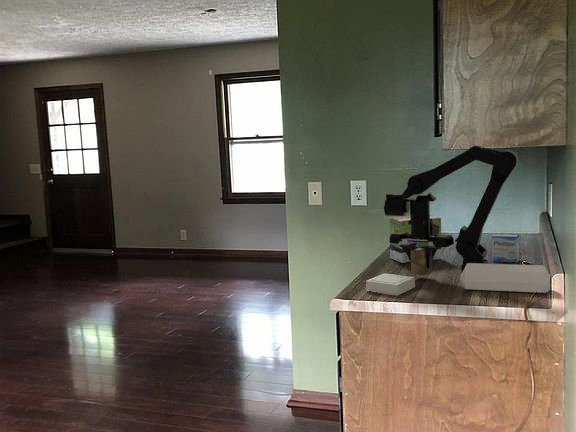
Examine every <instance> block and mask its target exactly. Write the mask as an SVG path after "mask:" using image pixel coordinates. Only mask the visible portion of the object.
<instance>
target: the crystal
mask: <svg viewBox="0 0 576 432" xmlns="http://www.w3.org/2000/svg"><path fill="white" fill-rule="evenodd" d="M550 276H551V274H550V272H549V271H548V269H547V268H546V267H545V266H544V265H540V264H537V265H536V264H534V265H533V264H513V263H512V264H509V263H506V264H505V263H504V264H503V263H488V264H478V263H467V265H466V266H465V268H464V270H463V272H462V274H460V276H459V281H460V283H461V285H462V287H463V289H464V290H470V291H471V290H473V291H495V292H512V293H513V292H514V293H515V292H517V293H534V294H535V293H536V292H537V294H547V293H548V292H550V290H551V289H550ZM549 289H550V290H549ZM546 292H547V293H546Z"/></svg>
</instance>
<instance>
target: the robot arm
mask: <svg viewBox="0 0 576 432" xmlns="http://www.w3.org/2000/svg"><path fill="white" fill-rule="evenodd" d="M475 161H478V162H481V163H484V164H488V165H491V166H492V168H491V169H492V170H491V174H490V179H489V182H488V185H487V186H486V189H485V191H484V193H483V195H482V197H481V200H480V202H479V203H478V206H477V208H476V210H475V212H474V215H473V217H472V219H471V221H470V223H469V225H468V226H466V225H463V226H462V227H461V228H460V229H459V232H458V237H457V238H456V239H454V236H452V234H443V233H441V234H440V235H439V228H440V226H438V225H435V224H433V222H432V218H430V215H431V212H430V203H431V202H436V201H437V197H436V196H435V195H433V193H431V192H429V193H427V194H426V195H421V194H423V193H425V192H427V191H428V190H430V189H431V188H432V187H434V186H435V185H436V184H437V183H438V182H439V181H441V180H442V179H444V178H445V177H447V176H449V175H451V174H453V173H454V172H456V171H458V170H460V169H462V168H464V167H466V166H468V165H470V164H472V163H473V162H475ZM519 161H520V160H519V157H518V154H517V153H516V152H515V151H513V150H511V149H510V150H509V149H508V150H507V149H506V150H504V151H501V150H496V149H493V148H487V147H483V146H481V145H472V146H471V147H470V148H468V149H467V150H465V151H463V152H461V153H460V154H458V155H456V156H454V157H453V158H451V159H449V160H447V161H446V162H443V163H441V164H440V165H438V166H436V167H434V168H432V169H429V170H426V171H423V172H420V173H416V174H415V175H412V176H410V177H409V179H407V180H408V181H407V184H406V185H407V187H406V188H405V190H404V191H403V192H402V193H400V194H399V193H397V194H396V193H386V194H385V200H384V205H383V211H384V216H385V217H406V215H407V213H408V214H409V216H410V220H408V224H411V234H409V233H408V232H396V233H393V234H391V235H390V234H389V237H388V239H389V240H388V241H389V244H390V243H394V244H398V243H399V242H400V241H401V244H400V245H399V246H400V247H402V248H403V249H404V251H405V253H406V254H407V256H408V258H409V260H410V262H409V263H411V250H413V249H415V247H416V244H417V242H424V243H429V246H427V247H425V250H426V262H427V268H430V267H431V264H432V265H433V258H434V255H435V253H436V251H437V249H438V248H440V247H441V248H448V247H450V246H453V245H455V250H456V252H457V253H458V254H459V255H460V256H461V257H462V264H461V265H460V268H461V270H460V271H461V274H462V272H463V270H464V268H465V266H466V265H467V263H478V264H489V262H488V259H485V258H486V256H487V253H488V250H487V249H486V248H485V247H484V246H483V245H482V244H481V241H482V237H483V231H484V227H485V226H486V225H485V224H486V222H487V220H488V218H489V215H490V214H491V212H492V210H493V208H494V205H495V203H496V201H497V199H498V197H499V195H500V192H501V191H502V189H503V187H504V185H505V183H506V181H508V180H509V178H510V176H511V174H512V173H513V172H514V170H515V169H516V168H517V166H518V165H519ZM415 195H417V196H416V197H415V198H411V197H413V196H415ZM430 236H435V237H430ZM424 239H426V240H424ZM461 274H460V275H461Z"/></svg>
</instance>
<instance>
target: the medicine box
mask: <svg viewBox="0 0 576 432" xmlns="http://www.w3.org/2000/svg"><path fill="white" fill-rule="evenodd" d="M519 238H520V236H519V234H501V233H500V234H499V233H498V234H494V233H493V235H492V236H491V250H492V251H491V252H492V253H491V258H492V259H491V261H492V262H493V263H512V262H515V263H516V264H517V263H518V262H519V260H520V239H519ZM515 263H514V264H515Z"/></svg>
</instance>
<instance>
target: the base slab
mask: <svg viewBox="0 0 576 432" xmlns="http://www.w3.org/2000/svg"><path fill="white" fill-rule="evenodd" d="M415 280H416V277H415V276H409V275H401V274H391V273H382V274H379V275H377V276H375V277H372V278H370V279H367V280H366V281H365V286H366V287H365V289H366V292H369V291H371V292H370V293H376V292H377V294H378V293H379V294H384V295H390V296H391V295H392V296H397V297H398V296H400V295H401V294H403V293H406V292H408V291H410V290H412V289H414V288H416V281H415Z"/></svg>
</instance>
